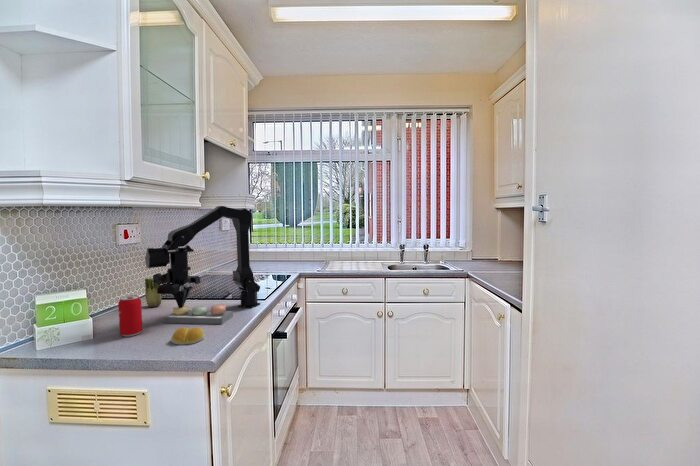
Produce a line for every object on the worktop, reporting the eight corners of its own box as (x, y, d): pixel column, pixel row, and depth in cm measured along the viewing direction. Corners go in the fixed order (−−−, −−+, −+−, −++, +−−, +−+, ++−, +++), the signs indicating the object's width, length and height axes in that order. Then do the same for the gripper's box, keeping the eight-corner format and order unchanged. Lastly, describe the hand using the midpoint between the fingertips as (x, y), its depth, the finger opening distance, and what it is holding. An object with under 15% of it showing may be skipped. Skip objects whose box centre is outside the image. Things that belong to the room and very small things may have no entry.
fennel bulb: (144, 306, 146) (142, 277, 145) (155, 304, 150) (154, 275, 149) (152, 308, 143) (151, 279, 142) (164, 306, 147) (162, 277, 146)
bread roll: (201, 344, 106) (201, 331, 106) (169, 346, 104) (168, 333, 104) (207, 334, 114) (206, 322, 114) (177, 336, 112) (176, 324, 112)
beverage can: (138, 329, 118) (136, 293, 118) (145, 333, 114) (144, 296, 114) (116, 334, 114) (114, 297, 113) (123, 339, 110) (122, 300, 109)
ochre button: (178, 310, 132) (177, 305, 132) (191, 311, 132) (190, 305, 131) (170, 314, 127) (170, 309, 127) (183, 315, 127) (183, 309, 126)
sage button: (196, 311, 131) (196, 306, 131) (209, 311, 131) (209, 306, 131) (189, 315, 126) (189, 309, 126) (202, 315, 126) (202, 310, 126)
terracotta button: (214, 309, 131) (214, 304, 131) (227, 310, 130) (227, 304, 130) (208, 313, 126) (208, 308, 126) (221, 314, 125) (221, 308, 125)
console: (178, 315, 134) (178, 309, 134) (232, 316, 132) (232, 310, 132) (164, 322, 125) (164, 316, 125) (222, 324, 123) (222, 318, 123)
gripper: (172, 261, 138) (174, 300, 139) (140, 269, 119) (142, 314, 121) (200, 261, 137) (201, 301, 138) (172, 269, 119) (174, 315, 120)
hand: (180, 307), depth 129 cm, fingers closed, pressing on ochre button
